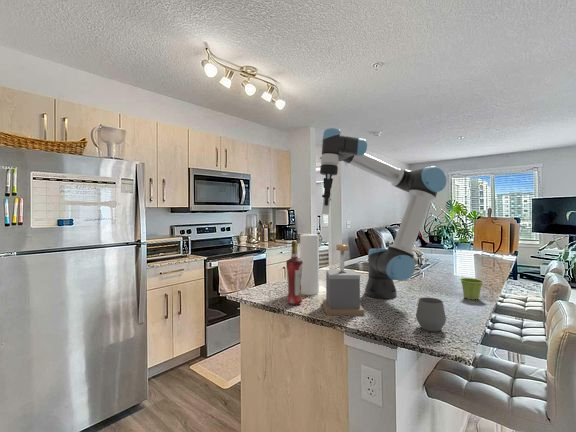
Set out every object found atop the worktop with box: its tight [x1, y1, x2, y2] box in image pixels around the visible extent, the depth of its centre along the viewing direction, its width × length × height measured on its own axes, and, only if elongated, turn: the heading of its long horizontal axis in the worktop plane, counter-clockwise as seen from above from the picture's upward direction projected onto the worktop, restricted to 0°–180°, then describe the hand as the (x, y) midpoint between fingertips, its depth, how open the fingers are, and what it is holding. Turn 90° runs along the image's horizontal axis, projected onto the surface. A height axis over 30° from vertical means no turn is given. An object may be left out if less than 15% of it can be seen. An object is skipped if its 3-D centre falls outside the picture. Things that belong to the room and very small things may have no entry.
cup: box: [415, 296, 447, 333], centre depth 106 cm, size 10×9×10 cm
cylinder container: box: [299, 233, 320, 296], centre depth 155 cm, size 9×9×30 cm
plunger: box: [335, 244, 349, 273], centre depth 128 cm, size 9×9×16 cm
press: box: [322, 269, 365, 316], centre depth 128 cm, size 15×15×16 cm
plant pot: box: [459, 277, 484, 301], centre depth 144 cm, size 9×9×9 cm
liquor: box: [286, 240, 303, 306], centre depth 136 cm, size 7×7×28 cm
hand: (325, 214), depth 131 cm, fingers open, 13 cm apart
